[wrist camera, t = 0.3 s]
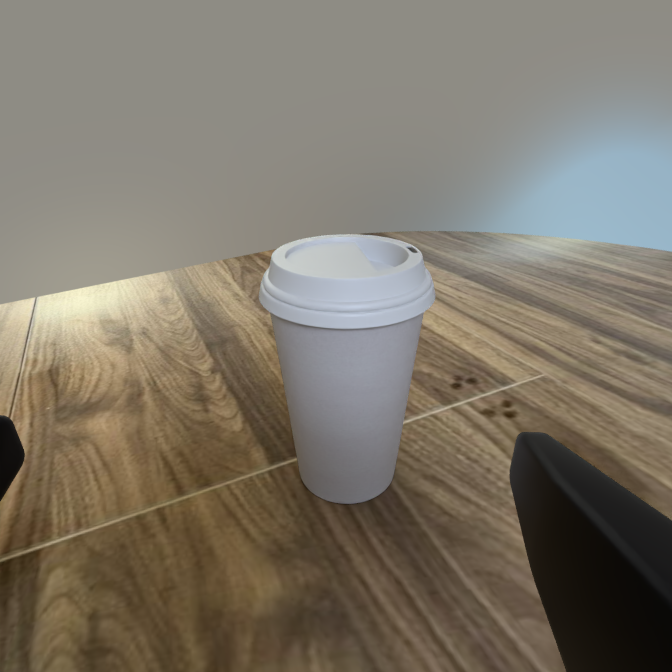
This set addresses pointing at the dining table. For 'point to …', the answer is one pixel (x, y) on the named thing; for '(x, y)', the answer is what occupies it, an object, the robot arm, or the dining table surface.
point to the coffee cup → (347, 354)
